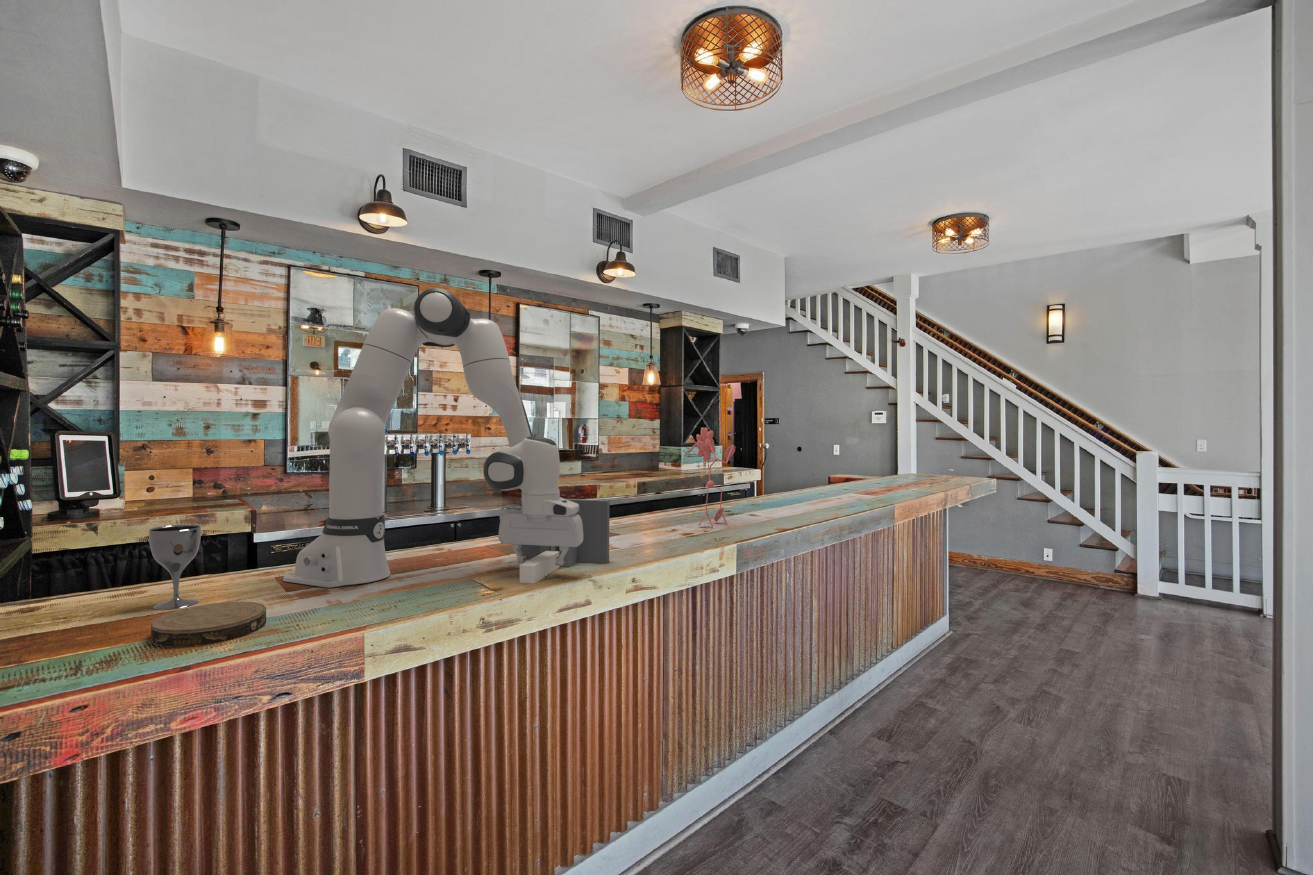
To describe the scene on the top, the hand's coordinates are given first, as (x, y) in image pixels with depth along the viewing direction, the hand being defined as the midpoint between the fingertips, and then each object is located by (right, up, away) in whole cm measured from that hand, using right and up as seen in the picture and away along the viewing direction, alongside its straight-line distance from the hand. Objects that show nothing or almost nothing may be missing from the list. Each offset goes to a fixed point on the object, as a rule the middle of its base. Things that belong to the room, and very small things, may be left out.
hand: (540, 563), depth 146 cm
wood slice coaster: (-49, -4, -40) cm, 63 cm away
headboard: (+2, -2, +12) cm, 12 cm away
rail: (+1, -3, +3) cm, 4 cm away
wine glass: (-66, -3, -25) cm, 71 cm away
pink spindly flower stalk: (+45, -2, +75) cm, 87 cm away
